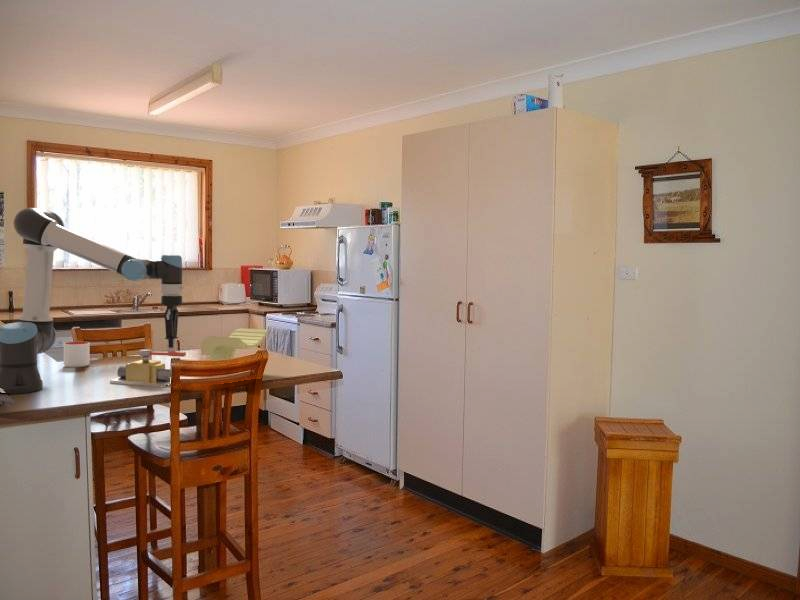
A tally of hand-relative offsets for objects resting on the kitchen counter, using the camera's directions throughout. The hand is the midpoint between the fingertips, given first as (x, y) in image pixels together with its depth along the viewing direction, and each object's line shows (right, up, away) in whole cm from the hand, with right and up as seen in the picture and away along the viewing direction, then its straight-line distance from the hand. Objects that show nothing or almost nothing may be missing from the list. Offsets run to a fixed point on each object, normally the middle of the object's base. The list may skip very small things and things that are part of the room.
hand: (171, 355), depth 243 cm
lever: (-3, 0, -2) cm, 4 cm away
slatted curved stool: (+20, -10, +20) cm, 30 cm away
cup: (-51, -7, +28) cm, 58 cm away
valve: (-10, -10, -1) cm, 14 cm away
